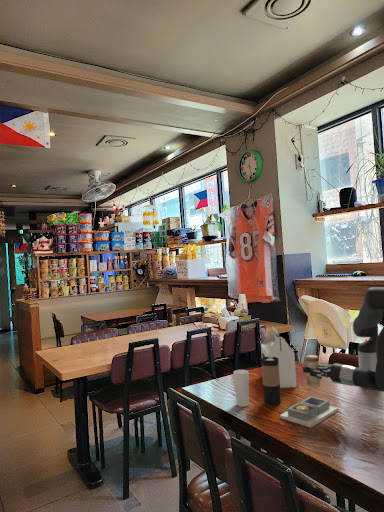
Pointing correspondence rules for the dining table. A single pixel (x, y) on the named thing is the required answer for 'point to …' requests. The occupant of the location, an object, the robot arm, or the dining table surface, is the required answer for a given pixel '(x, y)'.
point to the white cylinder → (242, 387)
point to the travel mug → (271, 381)
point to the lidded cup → (312, 363)
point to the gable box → (280, 357)
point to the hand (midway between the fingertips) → (307, 367)
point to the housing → (309, 412)
